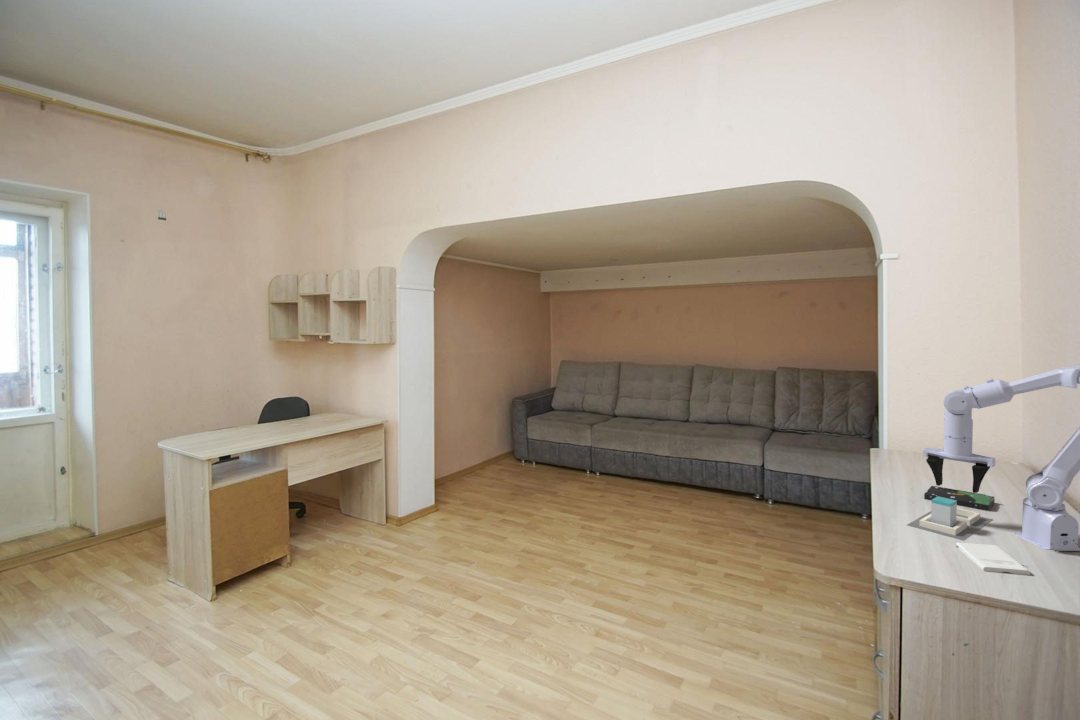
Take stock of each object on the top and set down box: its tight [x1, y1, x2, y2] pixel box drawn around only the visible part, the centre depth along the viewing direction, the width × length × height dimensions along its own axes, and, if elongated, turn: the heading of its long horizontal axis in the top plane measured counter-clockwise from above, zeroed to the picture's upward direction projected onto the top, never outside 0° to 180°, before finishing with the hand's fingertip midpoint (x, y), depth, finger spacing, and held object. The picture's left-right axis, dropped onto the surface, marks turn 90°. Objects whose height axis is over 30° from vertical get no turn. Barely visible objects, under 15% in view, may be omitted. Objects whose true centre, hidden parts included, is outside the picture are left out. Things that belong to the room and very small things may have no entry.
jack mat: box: [906, 510, 994, 541], centre depth 134 cm, size 21×12×1 cm, turn 124°
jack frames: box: [919, 507, 981, 535], centre depth 134 cm, size 17×8×2 cm, turn 124°
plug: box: [930, 496, 958, 528], centre depth 131 cm, size 4×4×7 cm
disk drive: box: [923, 485, 996, 512], centre depth 149 cm, size 10×3×15 cm
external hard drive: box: [955, 542, 1031, 576], centre depth 115 cm, size 2×8×12 cm
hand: (957, 488), depth 133 cm, fingers open, 7 cm apart
